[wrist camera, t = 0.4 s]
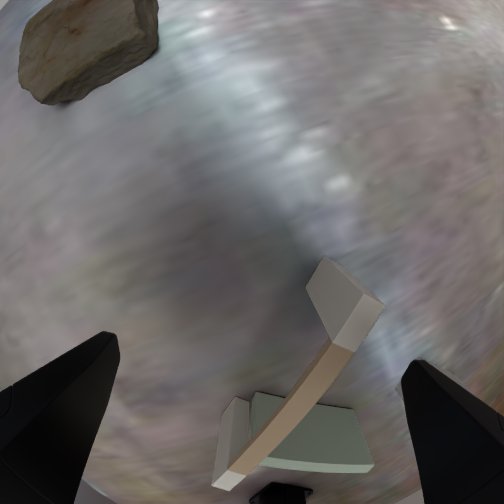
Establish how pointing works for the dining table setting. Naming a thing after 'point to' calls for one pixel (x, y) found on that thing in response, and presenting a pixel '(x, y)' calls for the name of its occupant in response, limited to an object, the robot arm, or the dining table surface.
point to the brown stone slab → (84, 46)
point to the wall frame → (312, 381)
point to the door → (316, 439)
